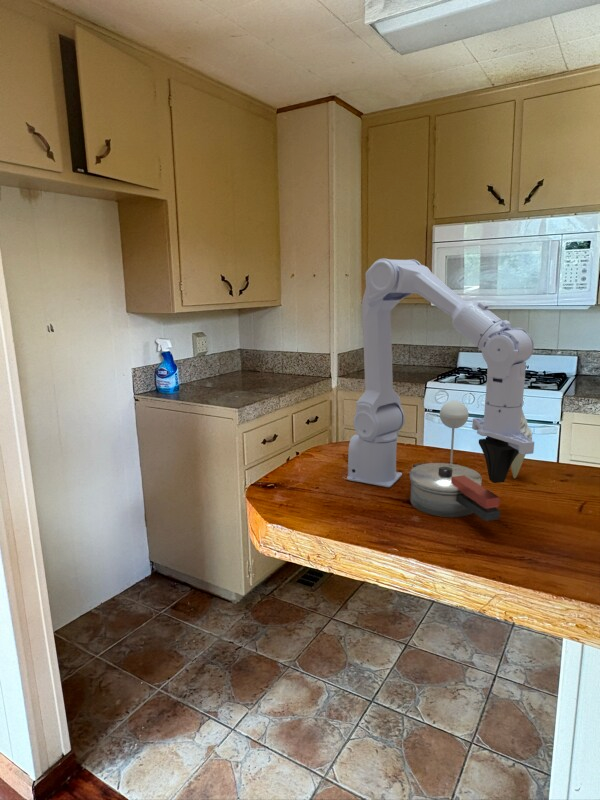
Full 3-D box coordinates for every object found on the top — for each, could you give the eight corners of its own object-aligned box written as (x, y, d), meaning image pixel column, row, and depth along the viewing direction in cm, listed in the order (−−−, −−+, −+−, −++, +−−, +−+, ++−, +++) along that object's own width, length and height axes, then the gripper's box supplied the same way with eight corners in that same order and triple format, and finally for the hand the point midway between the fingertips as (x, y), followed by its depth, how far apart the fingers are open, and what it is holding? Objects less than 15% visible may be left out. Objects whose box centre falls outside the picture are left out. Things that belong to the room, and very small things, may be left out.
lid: (398, 470, 100) (398, 460, 100) (456, 463, 104) (456, 454, 103) (457, 515, 81) (457, 503, 81) (526, 505, 85) (527, 493, 84)
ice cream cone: (530, 483, 106) (537, 410, 102) (503, 481, 107) (509, 409, 103) (525, 474, 111) (531, 404, 107) (499, 472, 112) (505, 404, 108)
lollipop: (433, 463, 118) (436, 398, 114) (458, 462, 118) (462, 397, 115) (442, 473, 112) (446, 404, 108) (469, 472, 112) (474, 404, 109)
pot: (384, 517, 91) (385, 492, 90) (415, 481, 107) (415, 460, 106) (496, 541, 83) (498, 513, 82) (511, 498, 99) (513, 475, 98)
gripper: (458, 395, 92) (454, 468, 95) (508, 416, 79) (500, 500, 82) (494, 393, 94) (489, 465, 97) (549, 413, 80) (540, 496, 83)
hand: (496, 481), depth 89 cm, fingers closed
